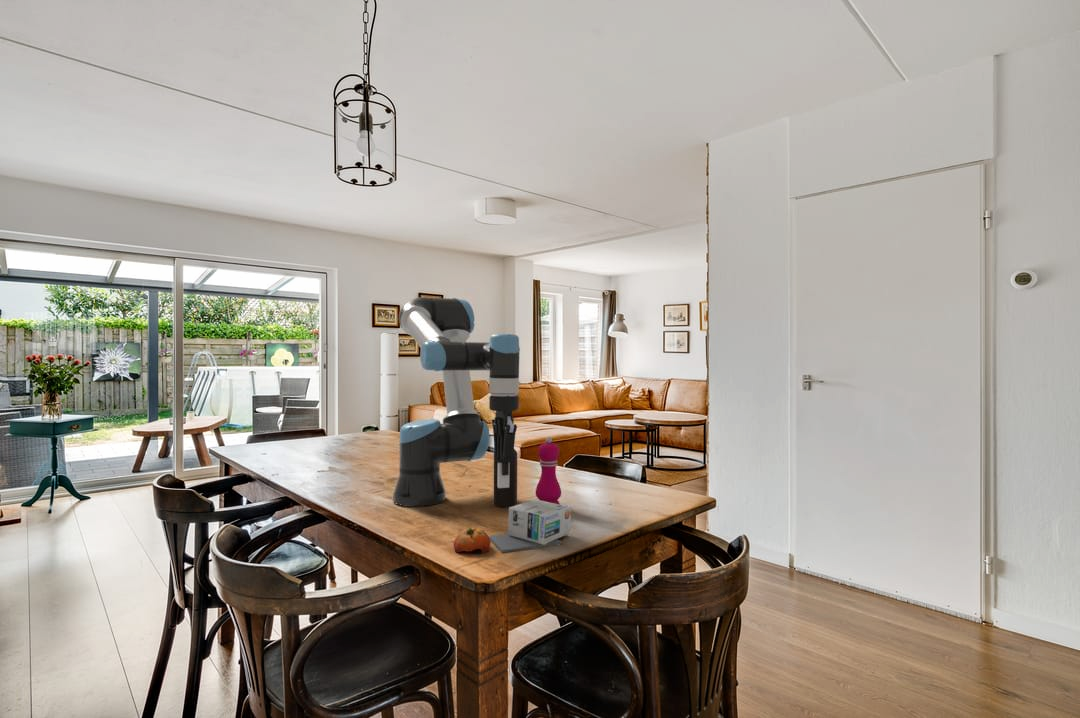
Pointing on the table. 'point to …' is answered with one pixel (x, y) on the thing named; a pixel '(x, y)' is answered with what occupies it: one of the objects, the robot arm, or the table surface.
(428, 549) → the table surface
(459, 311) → the robot arm
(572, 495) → the table surface
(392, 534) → the table surface
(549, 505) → the light bulb box
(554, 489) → the pepper mill
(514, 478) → the bottle
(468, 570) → the table surface
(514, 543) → the mat
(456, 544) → the tomato
